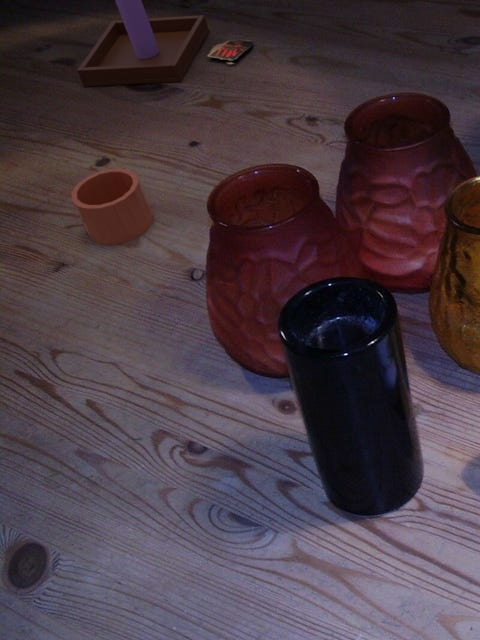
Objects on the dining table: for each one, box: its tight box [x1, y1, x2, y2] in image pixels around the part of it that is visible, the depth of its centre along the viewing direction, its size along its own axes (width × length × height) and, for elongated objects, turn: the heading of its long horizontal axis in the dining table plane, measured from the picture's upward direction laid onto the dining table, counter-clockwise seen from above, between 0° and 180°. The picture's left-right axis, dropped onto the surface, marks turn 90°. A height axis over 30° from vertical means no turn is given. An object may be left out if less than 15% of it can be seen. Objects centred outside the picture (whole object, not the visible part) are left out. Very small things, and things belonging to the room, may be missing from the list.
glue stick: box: [114, 0, 159, 59], centre depth 109 cm, size 3×3×10 cm
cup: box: [71, 167, 155, 246], centre depth 89 cm, size 6×6×4 cm
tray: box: [76, 14, 210, 88], centre depth 112 cm, size 11×11×2 cm
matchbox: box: [207, 38, 254, 66], centre depth 111 cm, size 5×5×1 cm
